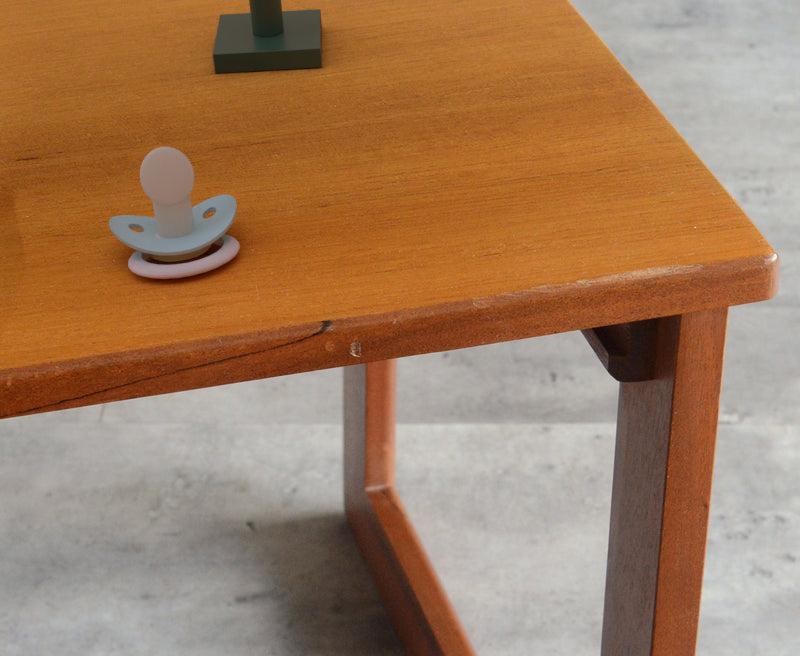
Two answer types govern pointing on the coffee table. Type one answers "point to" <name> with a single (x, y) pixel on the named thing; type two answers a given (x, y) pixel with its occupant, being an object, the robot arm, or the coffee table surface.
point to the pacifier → (176, 221)
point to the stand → (268, 39)
